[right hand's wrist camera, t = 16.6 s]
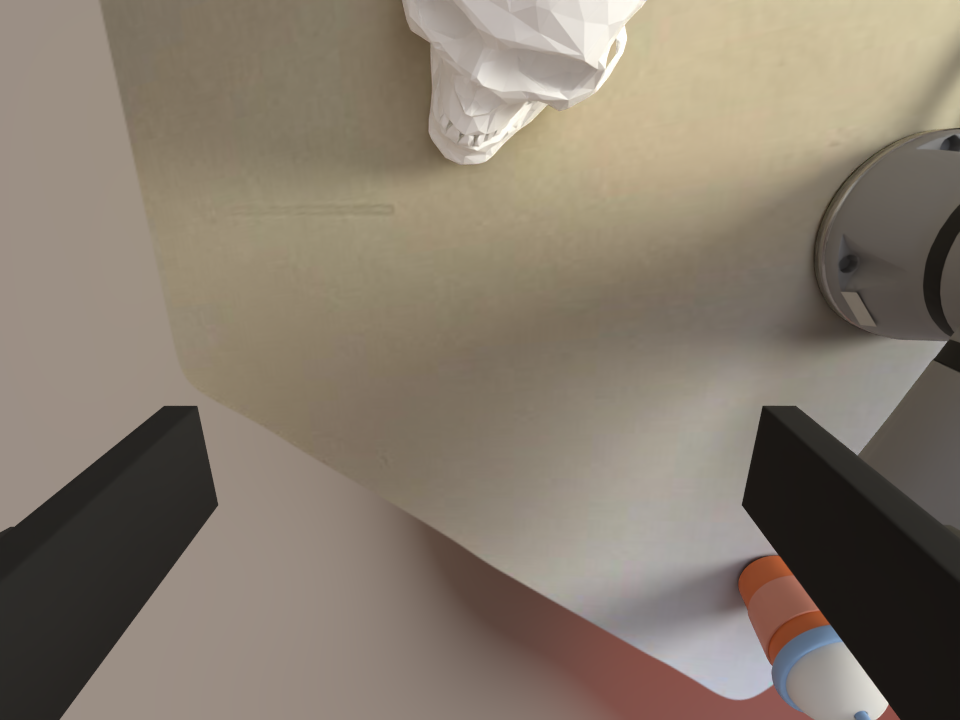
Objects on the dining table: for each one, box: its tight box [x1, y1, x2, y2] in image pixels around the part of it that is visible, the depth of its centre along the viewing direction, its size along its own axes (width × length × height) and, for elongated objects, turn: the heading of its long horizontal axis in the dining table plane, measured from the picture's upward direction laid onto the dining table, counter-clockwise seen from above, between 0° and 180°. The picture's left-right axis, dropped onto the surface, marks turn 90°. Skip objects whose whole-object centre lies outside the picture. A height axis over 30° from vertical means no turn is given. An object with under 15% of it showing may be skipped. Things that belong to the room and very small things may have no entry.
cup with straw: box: [738, 556, 889, 720], centre depth 45 cm, size 9×9×18 cm
